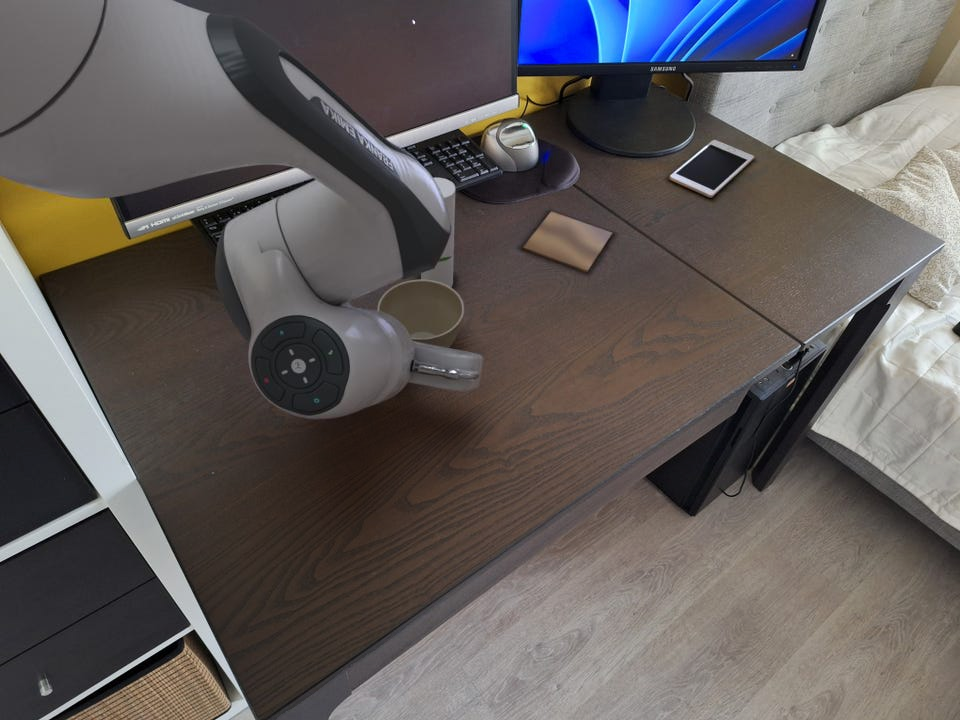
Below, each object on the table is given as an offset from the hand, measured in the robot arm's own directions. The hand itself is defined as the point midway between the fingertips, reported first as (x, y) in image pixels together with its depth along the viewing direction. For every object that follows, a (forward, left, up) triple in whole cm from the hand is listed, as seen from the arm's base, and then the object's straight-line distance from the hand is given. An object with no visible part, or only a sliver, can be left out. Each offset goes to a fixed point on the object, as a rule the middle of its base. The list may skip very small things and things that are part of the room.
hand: (400, 352), depth 75 cm
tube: (+15, +9, -5) cm, 18 cm away
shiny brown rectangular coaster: (+35, +2, -5) cm, 35 cm away
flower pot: (+5, +2, -5) cm, 7 cm away
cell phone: (+68, -3, -5) cm, 68 cm away
